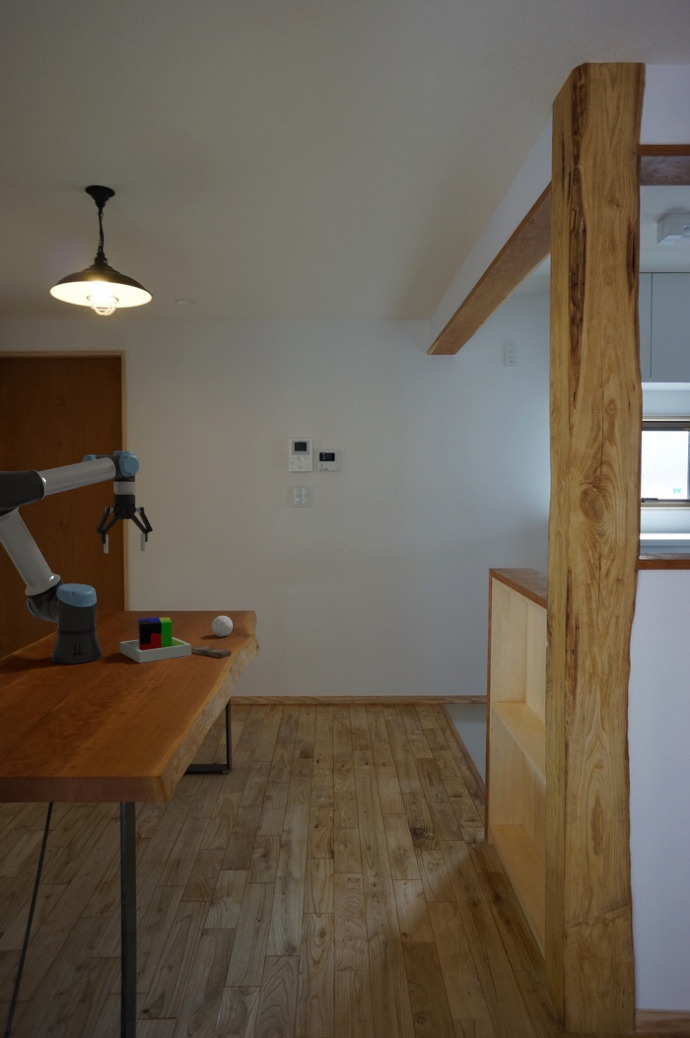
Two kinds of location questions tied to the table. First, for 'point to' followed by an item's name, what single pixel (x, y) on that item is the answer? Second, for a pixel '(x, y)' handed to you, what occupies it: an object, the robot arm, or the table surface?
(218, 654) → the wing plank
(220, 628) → the geometric ball
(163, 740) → the table surface
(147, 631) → the puzzle toy
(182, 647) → the white square tray
